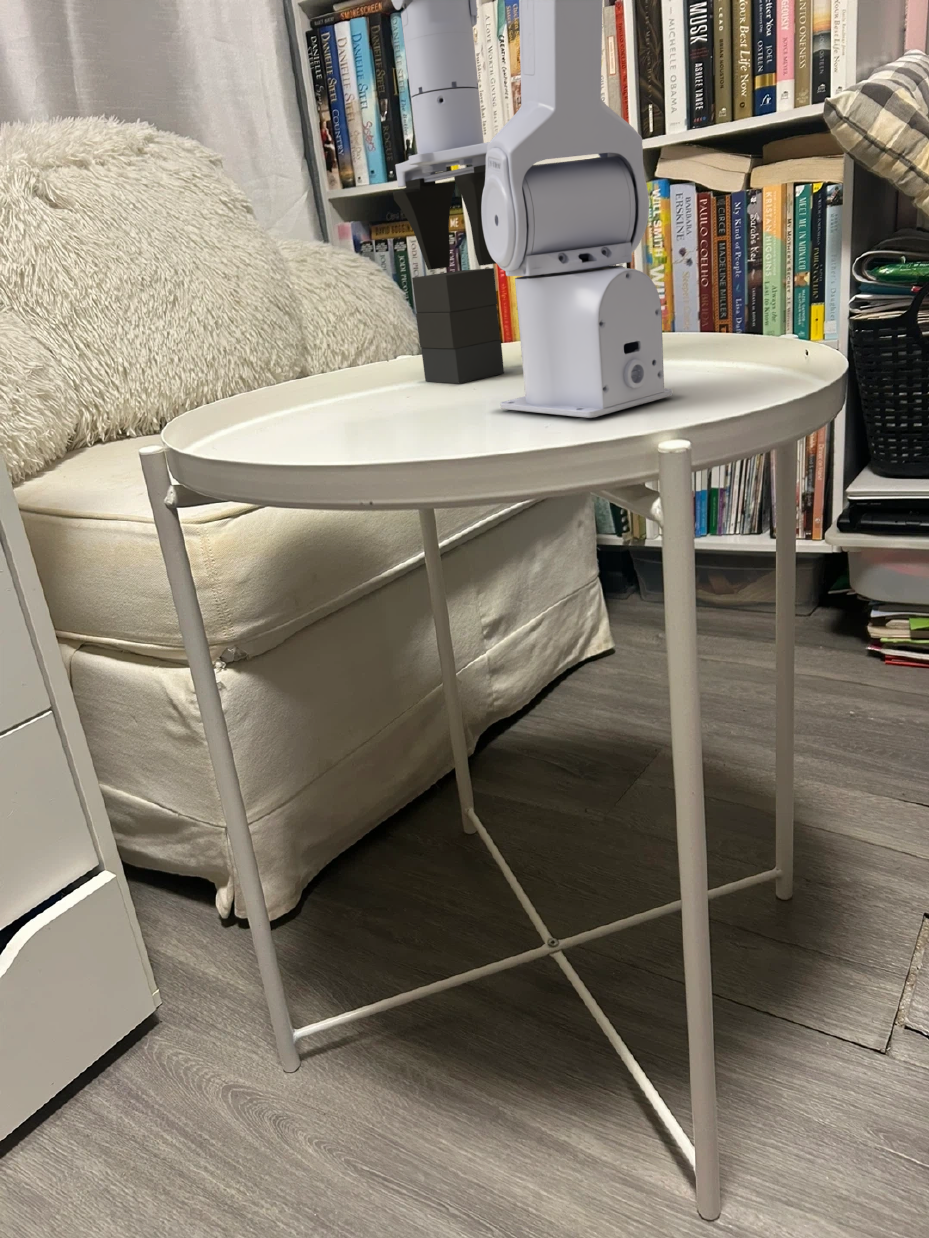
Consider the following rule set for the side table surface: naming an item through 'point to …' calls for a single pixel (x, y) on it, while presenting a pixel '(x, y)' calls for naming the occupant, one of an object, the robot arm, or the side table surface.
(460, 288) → the pad top
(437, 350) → the pad base
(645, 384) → the robot arm
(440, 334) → the pad middle
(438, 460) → the side table surface
